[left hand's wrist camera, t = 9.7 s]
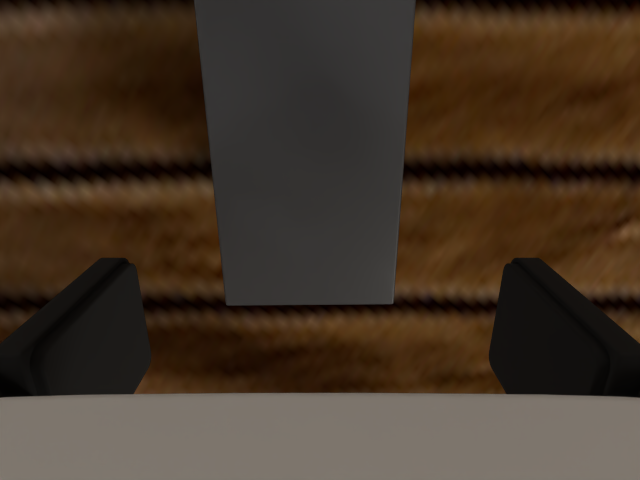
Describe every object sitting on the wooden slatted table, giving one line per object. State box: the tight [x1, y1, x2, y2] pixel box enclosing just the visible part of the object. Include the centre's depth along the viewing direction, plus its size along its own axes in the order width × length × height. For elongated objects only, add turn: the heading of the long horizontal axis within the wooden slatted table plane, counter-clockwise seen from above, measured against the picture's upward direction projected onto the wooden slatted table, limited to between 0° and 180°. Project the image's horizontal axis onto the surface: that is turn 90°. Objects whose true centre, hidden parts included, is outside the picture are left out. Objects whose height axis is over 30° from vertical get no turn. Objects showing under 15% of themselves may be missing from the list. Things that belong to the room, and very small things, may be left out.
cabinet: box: [194, 0, 416, 305], centre depth 16 cm, size 21×6×10 cm, turn 0°
